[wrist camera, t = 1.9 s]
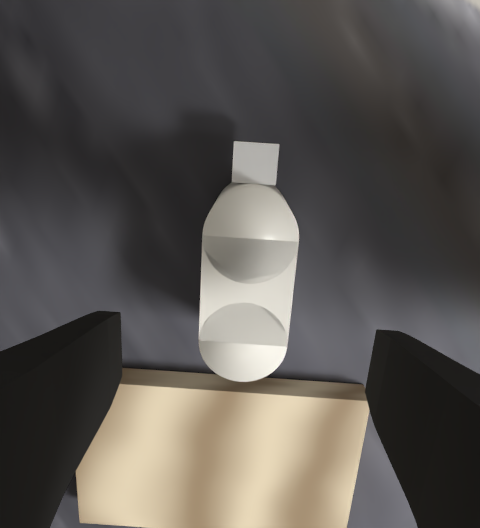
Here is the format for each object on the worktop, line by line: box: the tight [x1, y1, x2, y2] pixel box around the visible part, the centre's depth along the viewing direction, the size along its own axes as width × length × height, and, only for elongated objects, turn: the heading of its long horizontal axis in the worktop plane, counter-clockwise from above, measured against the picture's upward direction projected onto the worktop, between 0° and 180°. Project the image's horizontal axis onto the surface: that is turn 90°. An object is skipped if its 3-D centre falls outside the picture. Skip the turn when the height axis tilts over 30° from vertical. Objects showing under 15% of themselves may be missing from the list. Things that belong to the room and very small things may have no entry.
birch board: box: [76, 368, 369, 528], centre depth 23 cm, size 16×10×2 cm, turn 86°
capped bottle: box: [199, 141, 299, 382], centre depth 17 cm, size 4×10×5 cm, turn 176°
